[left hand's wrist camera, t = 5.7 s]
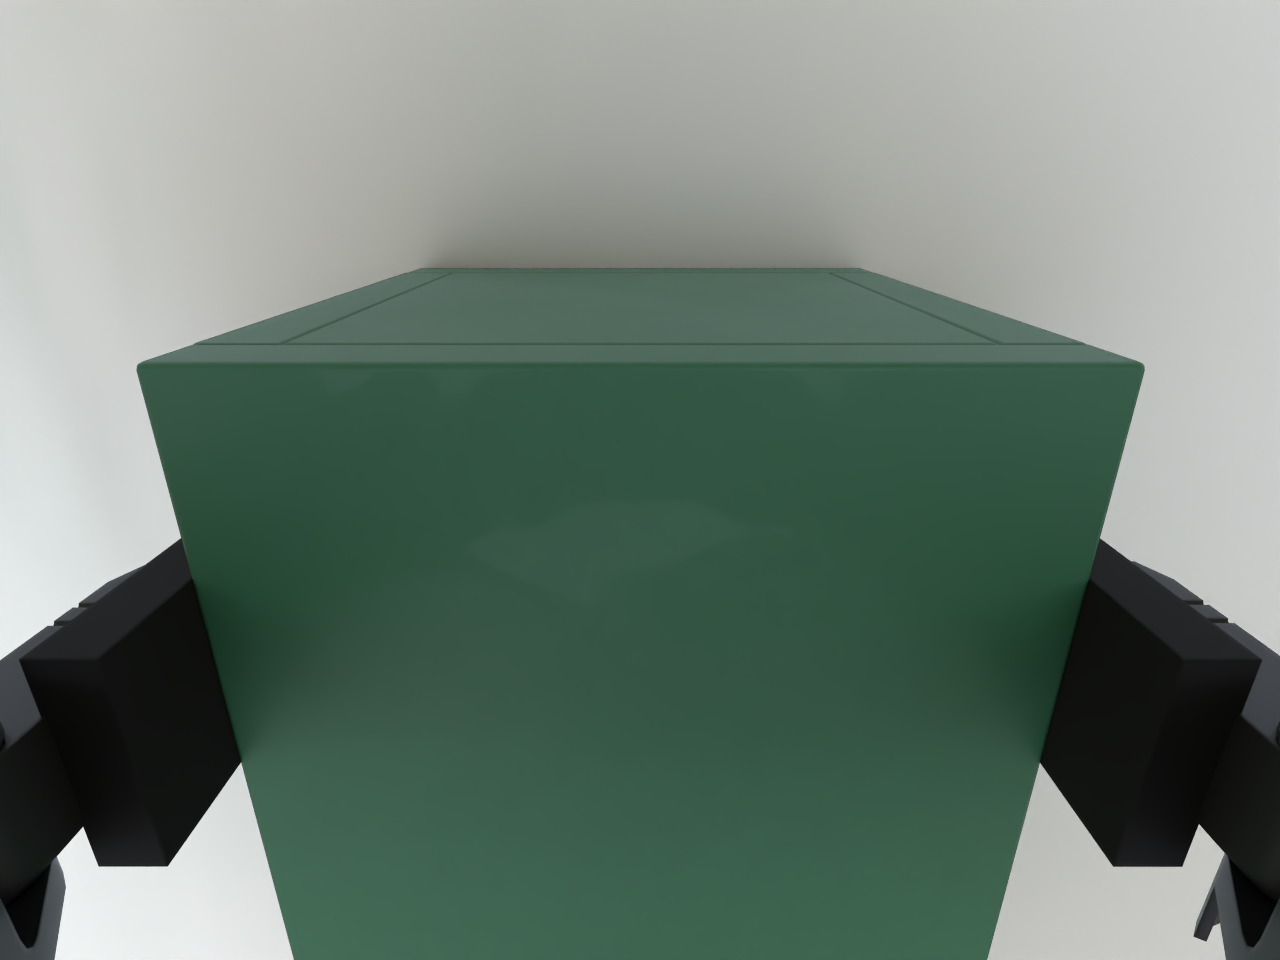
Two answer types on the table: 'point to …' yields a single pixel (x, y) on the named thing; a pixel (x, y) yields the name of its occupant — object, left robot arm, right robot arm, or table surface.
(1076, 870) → the table surface
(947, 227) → the table surface
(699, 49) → the table surface
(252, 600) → the cabinet
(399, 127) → the table surface
